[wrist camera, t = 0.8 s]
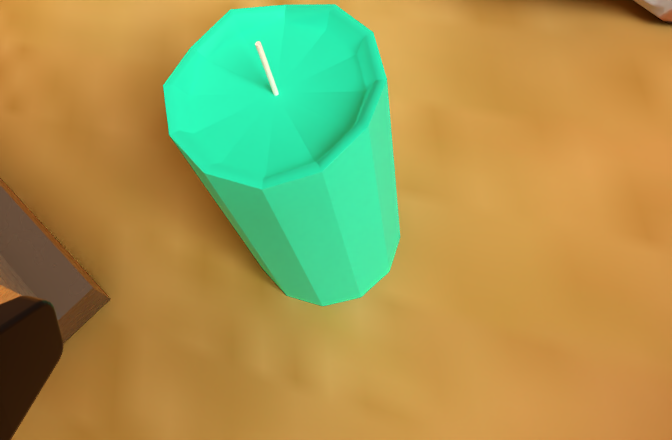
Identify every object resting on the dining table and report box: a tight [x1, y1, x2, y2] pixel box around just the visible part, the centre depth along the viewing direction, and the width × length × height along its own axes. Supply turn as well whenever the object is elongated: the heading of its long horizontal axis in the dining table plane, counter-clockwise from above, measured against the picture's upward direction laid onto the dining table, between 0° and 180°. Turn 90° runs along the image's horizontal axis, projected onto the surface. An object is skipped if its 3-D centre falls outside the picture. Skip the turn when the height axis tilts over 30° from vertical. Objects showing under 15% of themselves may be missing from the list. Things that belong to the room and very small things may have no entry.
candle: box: [163, 4, 400, 306], centre depth 20 cm, size 6×6×12 cm
